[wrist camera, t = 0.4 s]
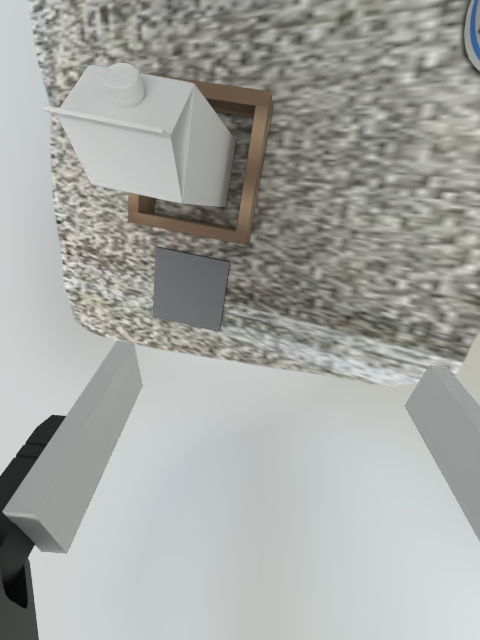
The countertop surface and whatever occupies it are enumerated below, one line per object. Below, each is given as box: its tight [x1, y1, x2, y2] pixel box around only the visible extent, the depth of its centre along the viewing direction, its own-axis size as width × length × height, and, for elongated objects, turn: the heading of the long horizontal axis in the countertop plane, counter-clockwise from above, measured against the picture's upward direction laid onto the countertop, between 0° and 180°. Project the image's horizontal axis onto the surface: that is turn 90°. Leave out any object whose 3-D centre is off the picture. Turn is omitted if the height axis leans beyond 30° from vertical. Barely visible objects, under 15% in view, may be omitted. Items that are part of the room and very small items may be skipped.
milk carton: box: [43, 63, 236, 207], centre depth 24 cm, size 7×7×19 cm
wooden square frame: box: [128, 73, 273, 245], centre depth 31 cm, size 14×15×4 cm
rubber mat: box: [153, 247, 230, 332], centre depth 38 cm, size 10×10×1 cm
